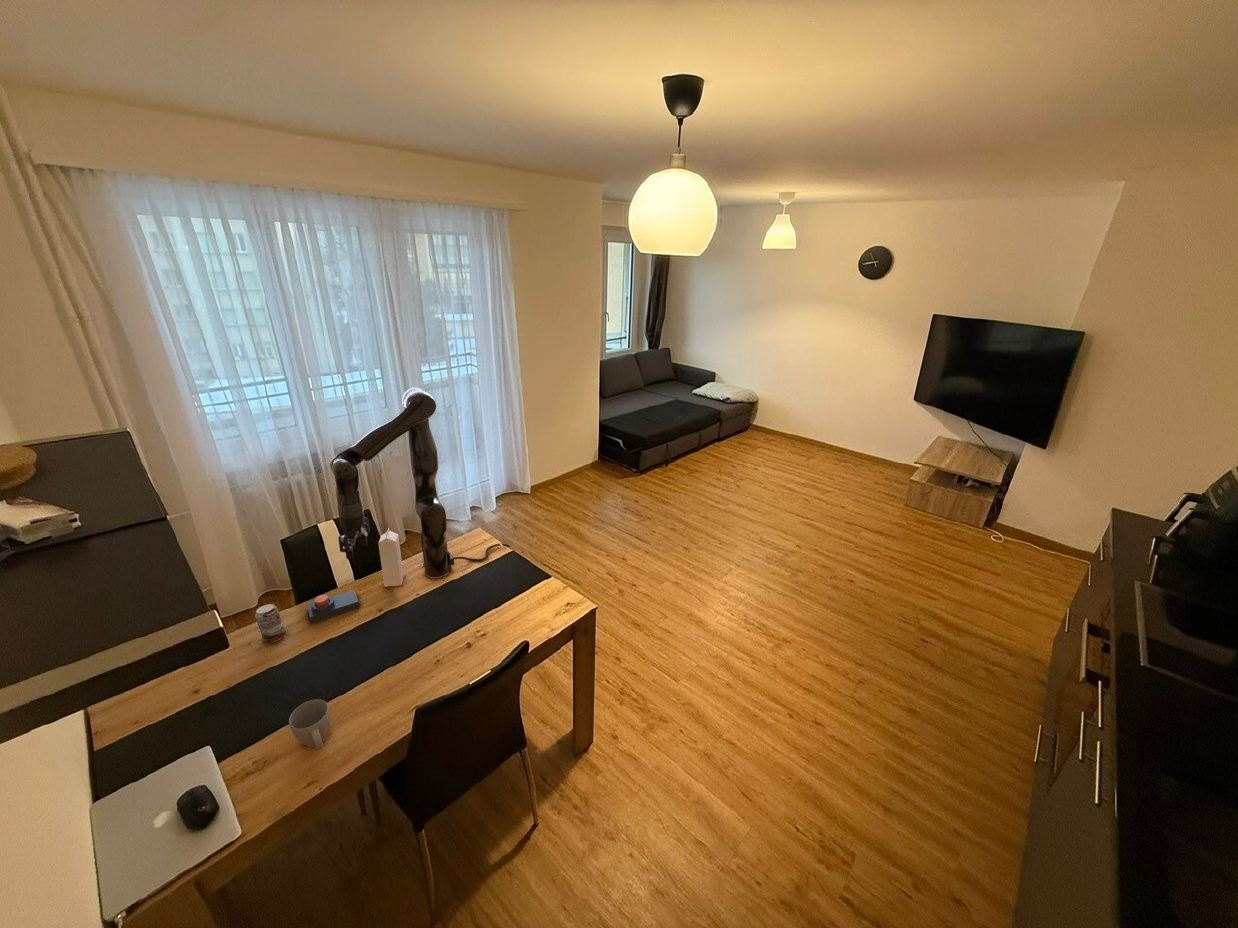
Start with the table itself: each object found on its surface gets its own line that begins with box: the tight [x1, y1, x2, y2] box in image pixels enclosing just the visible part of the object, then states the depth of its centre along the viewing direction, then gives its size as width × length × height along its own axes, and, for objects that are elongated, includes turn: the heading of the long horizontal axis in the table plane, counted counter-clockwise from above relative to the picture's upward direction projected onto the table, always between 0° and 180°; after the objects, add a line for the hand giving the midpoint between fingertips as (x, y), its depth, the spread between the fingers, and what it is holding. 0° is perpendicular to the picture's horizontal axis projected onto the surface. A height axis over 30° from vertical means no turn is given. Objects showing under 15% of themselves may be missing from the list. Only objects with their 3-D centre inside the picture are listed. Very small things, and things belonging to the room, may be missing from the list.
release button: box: [314, 594, 329, 607], centre depth 167 cm, size 4×4×2 cm
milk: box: [377, 527, 404, 588], centre depth 182 cm, size 6×6×22 cm
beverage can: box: [254, 603, 286, 644], centre depth 155 cm, size 6×7×12 cm
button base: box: [306, 589, 360, 624], centre depth 170 cm, size 15×8×4 cm, turn 127°
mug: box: [288, 698, 332, 751], centre depth 125 cm, size 12×9×10 cm
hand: (357, 551), depth 169 cm, fingers open, 8 cm apart
